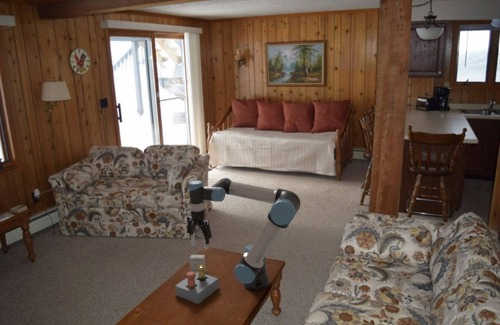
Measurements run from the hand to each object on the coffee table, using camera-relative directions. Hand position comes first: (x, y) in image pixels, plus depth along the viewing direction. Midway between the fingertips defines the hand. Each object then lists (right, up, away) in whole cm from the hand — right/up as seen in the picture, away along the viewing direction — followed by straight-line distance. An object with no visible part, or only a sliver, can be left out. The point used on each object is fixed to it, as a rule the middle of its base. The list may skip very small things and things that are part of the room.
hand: (200, 247), depth 228 cm
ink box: (-4, -21, +22) cm, 30 cm away
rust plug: (-4, -22, -2) cm, 23 cm away
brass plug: (+1, -20, +5) cm, 21 cm away
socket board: (-2, -26, +3) cm, 26 cm away
